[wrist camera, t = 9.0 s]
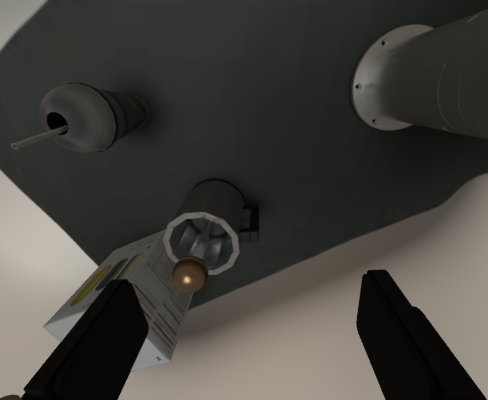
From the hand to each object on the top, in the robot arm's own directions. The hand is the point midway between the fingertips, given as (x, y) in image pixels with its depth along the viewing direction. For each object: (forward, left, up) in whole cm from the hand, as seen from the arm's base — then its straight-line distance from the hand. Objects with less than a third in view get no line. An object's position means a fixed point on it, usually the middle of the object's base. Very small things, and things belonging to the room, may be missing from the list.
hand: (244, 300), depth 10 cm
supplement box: (+22, +22, -31) cm, 44 cm away
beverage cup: (+18, -7, -31) cm, 36 cm away
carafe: (+7, +10, -30) cm, 33 cm away
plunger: (+8, +10, -27) cm, 30 cm away
